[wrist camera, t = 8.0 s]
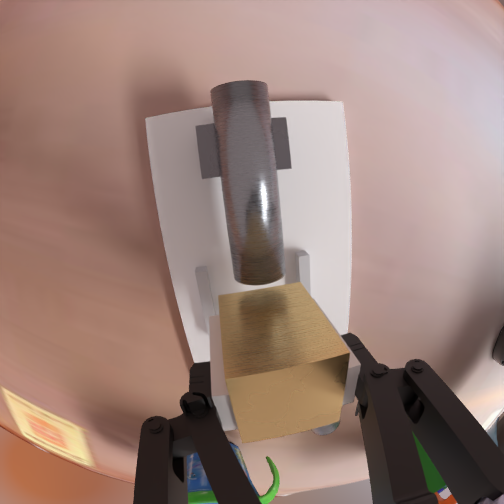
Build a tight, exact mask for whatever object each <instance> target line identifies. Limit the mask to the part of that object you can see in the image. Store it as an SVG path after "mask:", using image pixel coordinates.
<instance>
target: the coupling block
mask: <svg viewBox="0 0 504 504" xmlns="http://www.w3.org/2000/svg"><path fill="white" fill-rule="evenodd" d="M218 301H219V316H220V329H221V341H222V353H223V365H224V375H225V382H226V385H227V389H228V393H229V397H230V401H231V404H232V408H233V412H234V415H235V419H236V422H237V426H238V429H239V433H240V436H241V440H242V443H248V442H254V441H260V440H266V439H271V438H276V437H281V436H286V435H290V434H295V433H299V432H303V431H307V430H311V429H315V428H318V427H322V426H325V425H329V424H332V423H335V422H339V419H340V413H341V408H342V403H343V397H344V391H345V385H346V379H347V372H348V365H349V358H350V351H349V350H348V348H347V347H346V346H345V344H344V343H343V341H342V340H341V338H340V337H339V335H338V334H337V333H336V331H335V330H334V328H333V327H332V325H331V324H330V323H329V321H328V320H327V318H326V317H325V316H324V314H323V313H322V311H321V310H320V308H319V307H318V306H317V304H316V303H315V301H314V300H313V299H312V297H311V296H310V294H309V293H308V292H307V290H306V289H305V287H304V286H303V285H302V283H301V282H297V283H291V284H285V285H280V286H274V287H268V288H262V289H256V290H250V291H243V292H237V293H231V294H224V295H218Z"/></svg>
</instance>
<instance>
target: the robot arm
mask: <svg viewBox="0 0 504 504" xmlns="http://www.w3.org/2000/svg"><path fill="white" fill-rule="evenodd" d="M313 300H314V301H315V299H314V298H313ZM315 303H316V304H317V306H318V307H319V308H320V306H319V305H318V303H317V302H316V301H315ZM320 310H321V311H322V313H323V314H324V316H325V317H326V318H327V320H328V321H329V323H330V324H331V325H332V327H333V328H334V330H335V331H336V333H337V334H338V335H339V337H340V338H341V340H342V341H343V343H344V344H345V346H346V347H347V348H348V350H349V351H350V358H349V365H348V372H347V379H346V385H345V391H344V397H343V403H342V405H345V404H349V403H352V402H354V397H355V395H356V397H357V399H358V404H357V408H356V412H355V416H357V415H358V412H359V417H360V423H361V428H362V433H363V439H364V445H365V451H366V457H367V463H368V470H369V477H370V484H371V492H372V500H373V504H439V503H438V499H437V496H436V495H435V494H434V493H432V492H430V491H429V490H428V487H427V483H426V479H425V475H424V471H423V467H422V464H421V460H420V457H419V453H418V450H417V446H416V443H415V439H414V436H413V433H414V435H415V436H416V438H417V439H418V441H419V442H420V444H421V445H422V447H423V449H424V450H425V452H426V453H427V455H428V456H429V458H430V459H431V461H432V463H433V464H434V466H435V467H436V469H437V471H438V472H439V474H440V475H441V477H442V479H443V480H444V482H445V484H446V485H447V487H448V488H449V490H450V492H451V493H452V495H453V497H454V498H455V500H456V501H457V503H458V504H504V412H503V413H502V414H501V415H500V416H499V417H498V418H497V420H496V422H495V423H494V424H493V425H492V427H491V428H490V429H489V430H488V431H487V432H486V431H485V430H484V429H483V427H482V426H481V425H480V424H479V422H478V421H477V420H476V419H475V418H474V416H473V415H472V414H471V413H470V412H469V410H468V409H467V408H466V407H465V406H464V405H463V403H462V402H461V401H460V400H459V399H458V398H457V396H456V395H455V394H454V393H453V392H452V391H451V390H450V388H449V387H448V386H447V385H446V384H445V383H444V382H443V380H442V379H441V378H440V377H439V376H438V375H437V374H436V373H435V372H434V370H433V369H432V368H431V367H430V366H429V365H428V364H427V363H426V362H425V361H422V360H420V359H414V360H410V361H409V362H407V364H406V365H405V368H399V369H389V368H388V367H387V366H386V365H384V364H380V363H377V362H376V360H375V359H374V358H373V356H372V355H371V354H370V352H369V351H368V350H367V349H366V348H365V346H364V345H363V343H362V342H361V341H360V340H359V338H358V337H357V336H355V335H353V334H351V333H347V334H344V335H340V334H339V333H338V331H337V330H336V328H335V327H334V326H333V324H332V323H331V321H330V320H329V319H328V317H327V316H326V314H325V313H324V312H323V310H322V309H321V308H320ZM209 333H210V361H208V362H200V363H194V364H193V366H192V367H191V369H190V380H189V383H190V384H189V392H187V393H185V394H184V395H183V396H182V397H181V399H180V406H181V409H182V411H183V414H182V415H180V416H178V417H176V418H173V419H169V420H167V419H166V418H164V417H161V416H154V417H150V418H148V419H147V420H146V421H145V422H144V423H143V425H142V428H141V435H140V442H139V450H138V458H137V467H136V477H135V488H134V501H133V504H188V486H187V456H188V455H191V454H194V453H198V456H199V458H200V461H201V464H202V466H203V469H204V471H205V474H206V476H207V479H208V481H209V484H210V486H211V488H212V491H213V493H214V495H215V498H216V500H217V502H218V504H262V503H261V502H260V500H259V498H258V496H257V495H256V493H255V491H254V489H253V488H252V486H251V484H250V482H249V480H248V478H247V477H246V475H245V473H244V471H243V469H242V467H241V465H240V463H239V461H238V459H237V457H236V455H235V453H234V451H233V449H232V447H231V445H230V443H229V441H228V439H227V437H226V435H225V432H224V431H228V430H236V429H238V426H237V422H236V419H235V415H234V412H233V408H232V404H231V401H230V397H229V393H228V389H227V385H226V382H225V375H224V365H223V353H222V341H221V329H220V316H219V315H214V316H209ZM493 358H494V360H495V361H496V362H498V363H499V364H500V365H502V366H504V327H503V329H502V331H501V333H500V335H499V338H498V340H497V343H496V345H495V348H494V352H493ZM412 432H413V433H412Z"/></svg>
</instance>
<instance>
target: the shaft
mask: <svg viewBox="0 0 504 504" xmlns="http://www.w3.org/2000/svg"><path fill="white" fill-rule="evenodd" d="M211 100H212V110H213V119H214V123H212V124H205V125H198V126H195V127H196V136H197V144H198V153H199V161H200V169H201V176H202V179H207V178H214V177H220V178H221V186H222V193H223V201H224V209H225V216H226V224H227V231H228V238H229V246H230V253H231V260H232V267H233V274H234V279H235V280H236V281H237V282H238V283H241V284H244V285H265V284H270V283H273V282H276V281H278V280H280V279H281V278H283V277H284V276H285V273H286V270H285V256H284V243H283V230H282V218H281V207H280V196H279V185H278V175H277V170H283V169H292V167H291V156H290V147H289V137H288V128H287V120H286V117H278V118H271V111H270V103H269V95H268V87H267V84H266V83H264V82H260V81H251V80H245V81H235V82H229V83H225V84H221V85H219V86H216V87H214V88H213V89H212V90H211Z"/></svg>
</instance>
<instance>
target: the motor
mask: <svg viewBox="0 0 504 504" xmlns="http://www.w3.org/2000/svg"><path fill="white" fill-rule="evenodd" d="M412 433H413V432H412ZM413 436H414V439H415V443H416V446H417V450H418V453H419V457H420V460H421V464H422V467H423V471H424V475H425V479H426V483H427V487H428V490H429V491H430V492H432V493H434V494H435V495H436V496H437V499H438V503H439V504H456V503H457V501H456V500H455V498H454V497H453V495H452V494H451V495H450V496H449V497H448V498H447V499H442V498H441V497H440V495H439V493H440V492H442V491H443V490H444V489H446V488H447V485H446V484H445V482H444V480H443V479H442V477H441V475H440V474H439V472H438V471H437V469H436V467H435V466H434V464H433V463H432V461H431V459H430V458H429V456H428V455H427V453H426V452H425V450H424V449H423V447H422V445H421V444H420V442H419V441H418V439H417V438H416V436H415V435H414V433H413Z"/></svg>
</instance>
